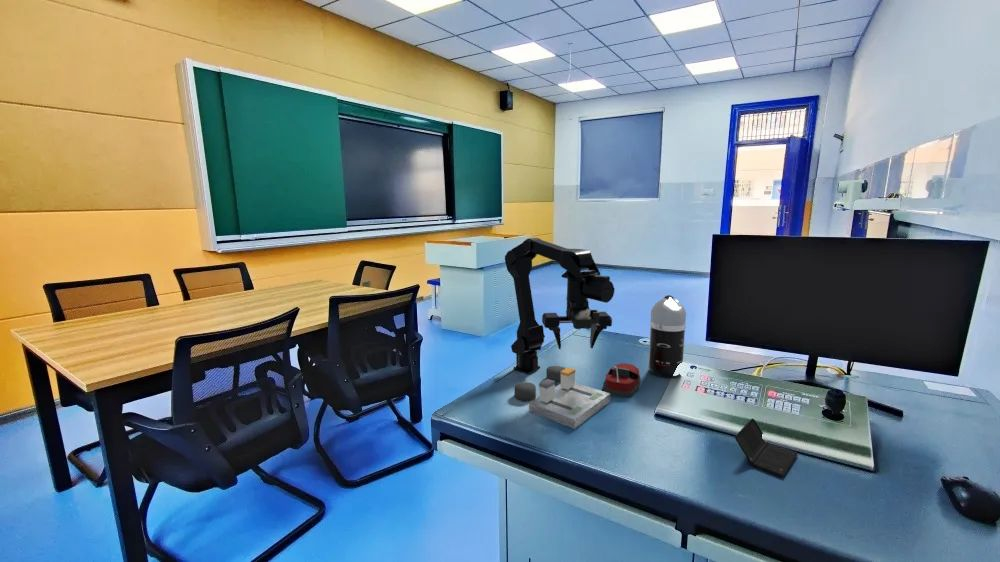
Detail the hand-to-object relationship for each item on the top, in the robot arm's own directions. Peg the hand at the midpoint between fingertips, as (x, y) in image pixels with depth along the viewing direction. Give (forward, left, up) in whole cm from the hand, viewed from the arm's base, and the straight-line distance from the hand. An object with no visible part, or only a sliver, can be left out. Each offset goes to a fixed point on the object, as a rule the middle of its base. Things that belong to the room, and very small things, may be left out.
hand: (575, 348), depth 121 cm
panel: (+4, -9, -13) cm, 16 cm away
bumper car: (+9, +11, -13) cm, 19 cm away
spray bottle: (+15, +29, -13) cm, 35 cm away
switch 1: (0, -14, -10) cm, 17 cm away
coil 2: (-9, +3, -13) cm, 16 cm away
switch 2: (0, -4, -10) cm, 11 cm away
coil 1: (-9, -12, -13) cm, 20 cm away
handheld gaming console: (+48, -2, -13) cm, 50 cm away
